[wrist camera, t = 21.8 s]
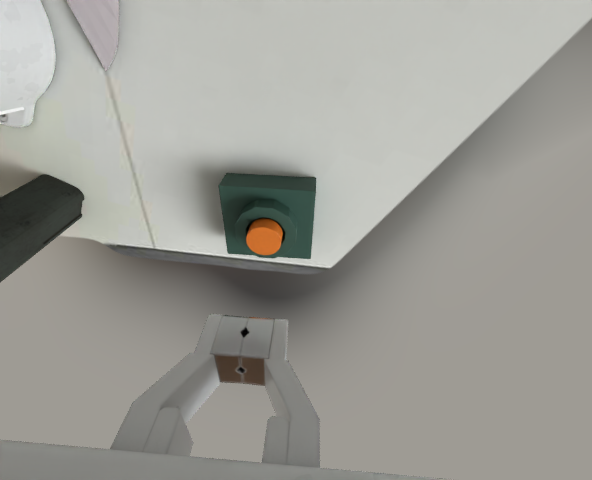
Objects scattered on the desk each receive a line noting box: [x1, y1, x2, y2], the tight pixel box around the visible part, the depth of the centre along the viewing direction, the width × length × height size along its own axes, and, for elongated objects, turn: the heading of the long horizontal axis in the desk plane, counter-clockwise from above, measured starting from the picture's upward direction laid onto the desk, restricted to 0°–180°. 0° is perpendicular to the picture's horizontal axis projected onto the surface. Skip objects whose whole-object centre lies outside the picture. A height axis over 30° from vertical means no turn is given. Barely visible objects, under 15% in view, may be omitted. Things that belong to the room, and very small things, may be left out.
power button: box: [246, 218, 283, 255], centre depth 31 cm, size 4×4×2 cm
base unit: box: [219, 173, 316, 259], centre depth 33 cm, size 10×9×5 cm
